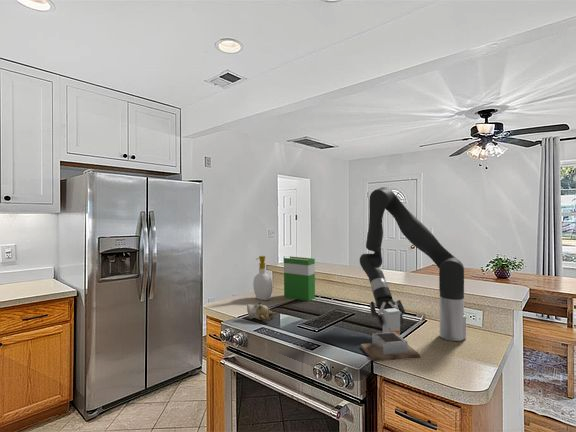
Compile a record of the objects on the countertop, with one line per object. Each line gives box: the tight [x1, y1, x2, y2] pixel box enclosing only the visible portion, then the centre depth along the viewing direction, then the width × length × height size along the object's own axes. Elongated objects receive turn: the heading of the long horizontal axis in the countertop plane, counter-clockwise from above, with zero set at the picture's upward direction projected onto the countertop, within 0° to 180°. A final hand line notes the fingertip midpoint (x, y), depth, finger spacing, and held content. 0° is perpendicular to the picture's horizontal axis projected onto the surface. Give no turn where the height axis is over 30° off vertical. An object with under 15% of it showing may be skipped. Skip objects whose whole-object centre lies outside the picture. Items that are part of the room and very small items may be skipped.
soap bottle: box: [253, 255, 273, 301], centre depth 209 cm, size 14×9×26 cm, turn 47°
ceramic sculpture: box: [246, 302, 279, 322], centre depth 173 cm, size 11×9×15 cm
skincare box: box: [382, 308, 401, 336], centre depth 147 cm, size 6×4×12 cm
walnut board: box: [360, 342, 421, 362], centre depth 133 cm, size 18×13×1 cm
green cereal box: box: [283, 255, 316, 302], centre depth 212 cm, size 18×7×24 cm, turn 55°
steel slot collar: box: [371, 331, 408, 356], centre depth 133 cm, size 9×10×4 cm
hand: (392, 324), depth 146 cm, fingers open, 8 cm apart
